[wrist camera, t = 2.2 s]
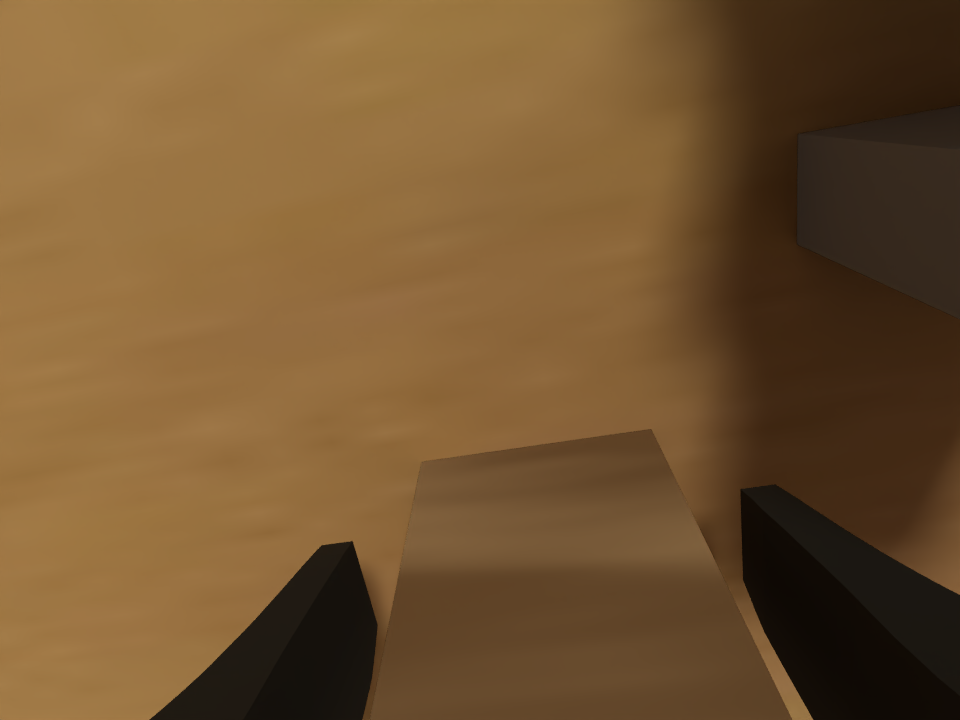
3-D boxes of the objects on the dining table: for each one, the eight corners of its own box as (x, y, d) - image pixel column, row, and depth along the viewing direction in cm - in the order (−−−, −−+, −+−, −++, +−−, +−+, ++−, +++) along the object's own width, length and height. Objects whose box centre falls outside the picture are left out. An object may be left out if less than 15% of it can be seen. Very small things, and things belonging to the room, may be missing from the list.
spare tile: (658, 507, 14) (833, 937, 7) (439, 536, 15) (384, 972, 7) (651, 429, 14) (838, 815, 6) (421, 461, 14) (341, 860, 7)
